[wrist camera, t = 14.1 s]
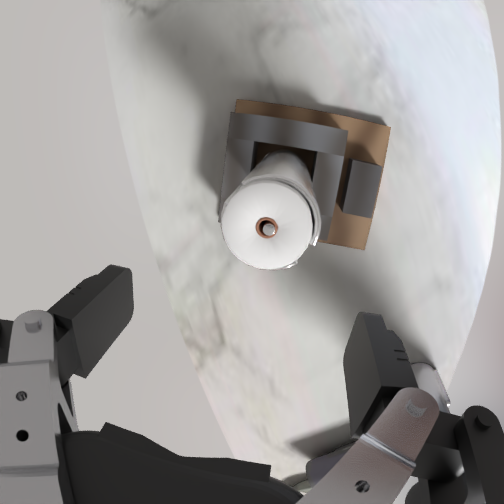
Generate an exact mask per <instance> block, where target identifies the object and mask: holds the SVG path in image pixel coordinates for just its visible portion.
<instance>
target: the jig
mask: <svg viewBox="0 0 504 504" xmlns="http://www.w3.org/2000/svg"><path fill="white" fill-rule="evenodd" d="M390 129H391V127H388V126H384V125H381V124H377V123H373V122H369V121H364V120H360V119H356V118H351V117H347V116H342V115H337V114H332V113H327V112H322V111H317V110H311V109H305V108H299V107H293V106H287V105H280V104H273V103H265V102H257V101H249V100H239V99H237V101H236V109H235V112H231V116H230V124H229V132H228V140H227V148H226V156H225V165H224V173H223V182H222V191H221V201H220V210H219V220H218V222H220V223H221V212H222V209H223V205H224V202H225V201H226V200H227V199H228V198H229V196H230V195H231V194H232V193H233V192H234V191H235V190H236V189H237V188H238V186H239V185H240V184H241V182H242V181H243V180H244V179H245V178H246V177H247V176H248V175H249V173H250V172H251V171H252V170H253V169H254V168H255V167H256V166H257V165H258V164H259V163H260V162H261V161H262V160H263V159H264V157H265V156H266V155H267V154H268V153H269V152H271V151H273V150H275V149H279V148H288V149H291V150H294V151H296V152H297V153H299V154H300V155H301V156H302V157H303V158H304V160H305V162H306V164H307V167H308V171H309V174H310V178H311V181H312V185H313V188H314V192H315V195H316V199H317V203H318V206H319V211H320V217H321V230H320V236H319V238H318V242H323V243H329V244H334V245H340V246H345V247H351V248H356V249H361V250H364V249H365V246H366V242H367V238H368V234H369V230H370V226H371V222H372V218H373V214H374V209H375V205H376V201H377V196H378V192H379V187H380V182H381V178H382V173H383V168H384V163H385V157H386V152H387V147H388V141H389V135H390Z"/></svg>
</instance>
